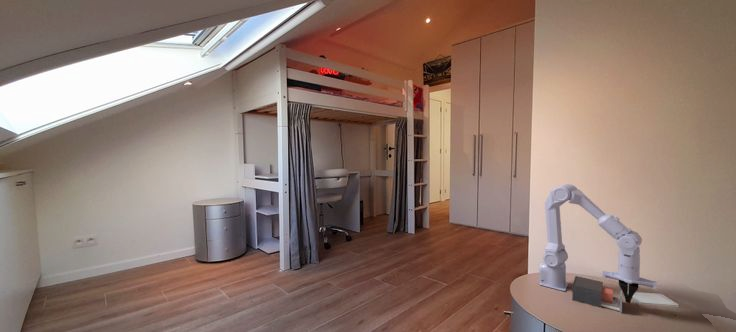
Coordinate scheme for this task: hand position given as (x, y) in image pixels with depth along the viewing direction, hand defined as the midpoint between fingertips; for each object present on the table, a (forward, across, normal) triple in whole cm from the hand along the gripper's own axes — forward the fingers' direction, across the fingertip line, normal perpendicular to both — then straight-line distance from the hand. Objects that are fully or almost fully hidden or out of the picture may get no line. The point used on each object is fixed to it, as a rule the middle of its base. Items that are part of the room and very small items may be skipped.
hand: (627, 301), depth 103 cm
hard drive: (+4, +6, +13) cm, 15 cm away
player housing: (+3, -12, 0) cm, 12 cm away
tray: (+3, -7, 0) cm, 7 cm away
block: (+2, -6, 0) cm, 6 cm away
